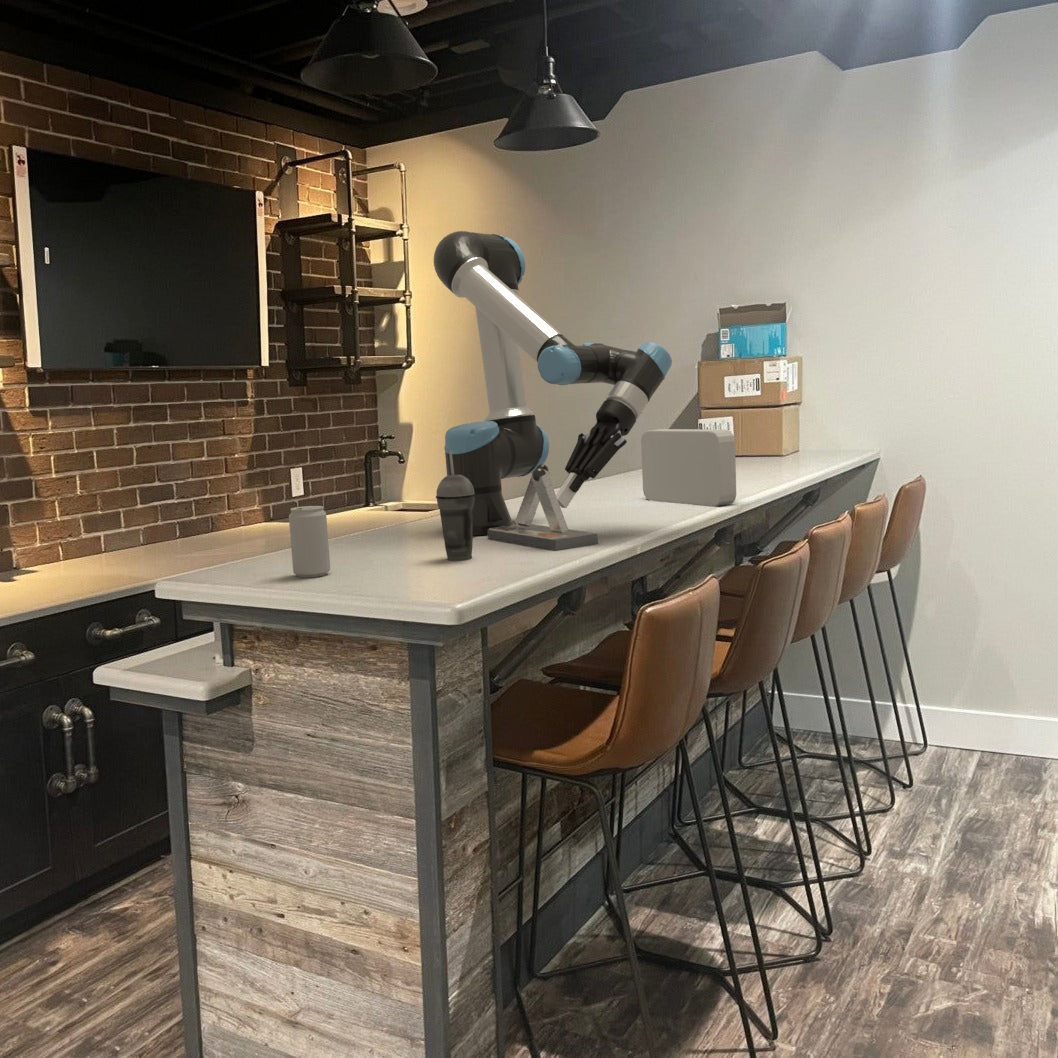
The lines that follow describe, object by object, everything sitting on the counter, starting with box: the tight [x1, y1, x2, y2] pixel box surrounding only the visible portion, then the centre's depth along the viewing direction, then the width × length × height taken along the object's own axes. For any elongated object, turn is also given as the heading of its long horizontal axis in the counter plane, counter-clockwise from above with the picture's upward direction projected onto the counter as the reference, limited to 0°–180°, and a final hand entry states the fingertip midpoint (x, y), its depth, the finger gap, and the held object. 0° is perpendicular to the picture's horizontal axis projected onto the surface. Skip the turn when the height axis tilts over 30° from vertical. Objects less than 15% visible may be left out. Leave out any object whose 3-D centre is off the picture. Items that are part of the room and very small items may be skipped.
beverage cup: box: [435, 450, 475, 562], centre depth 189 cm, size 7×7×20 cm
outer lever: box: [530, 468, 569, 533], centre depth 197 cm, size 3×4×13 cm
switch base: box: [487, 523, 599, 552], centre depth 206 cm, size 10×24×3 cm, turn 34°
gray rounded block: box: [640, 428, 737, 507], centre depth 257 cm, size 29×8×18 cm, turn 33°
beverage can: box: [288, 505, 331, 579], centre depth 180 cm, size 6×6×12 cm
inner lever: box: [514, 463, 551, 527], centre depth 212 cm, size 3×4×13 cm
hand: (559, 503), depth 198 cm, fingers closed
